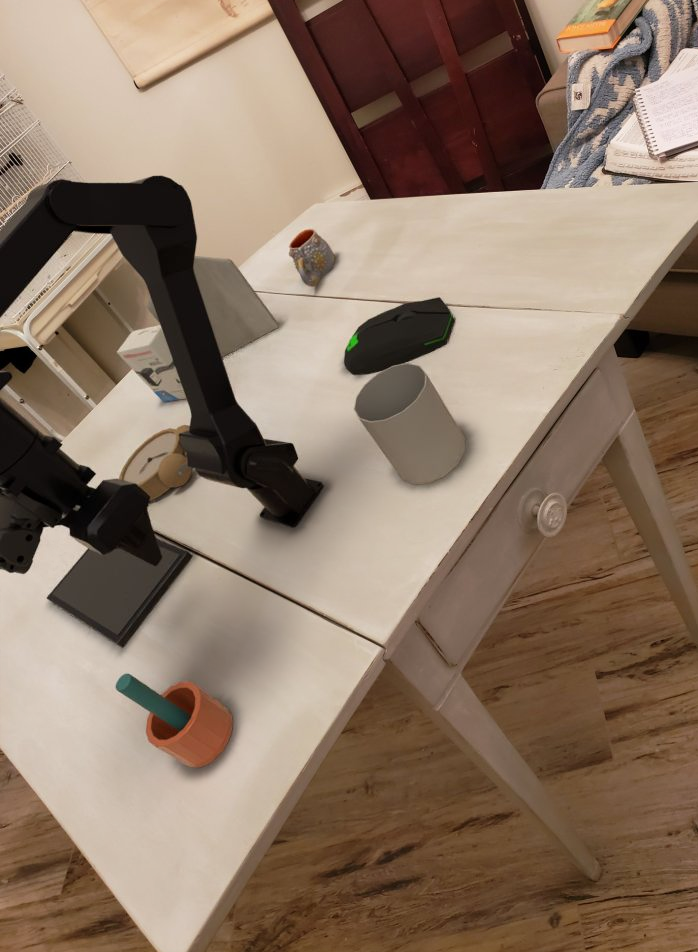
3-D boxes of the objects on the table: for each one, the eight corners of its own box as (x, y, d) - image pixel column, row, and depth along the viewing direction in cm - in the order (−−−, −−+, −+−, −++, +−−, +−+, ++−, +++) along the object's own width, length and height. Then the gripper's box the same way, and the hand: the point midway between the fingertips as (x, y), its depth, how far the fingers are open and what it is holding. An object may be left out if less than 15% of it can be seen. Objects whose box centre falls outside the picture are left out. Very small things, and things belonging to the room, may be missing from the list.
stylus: (212, 730, 68) (133, 676, 61) (201, 745, 67) (121, 693, 60) (202, 723, 69) (124, 670, 62) (192, 738, 68) (112, 687, 62)
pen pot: (244, 718, 68) (211, 694, 65) (204, 778, 65) (169, 757, 62) (208, 695, 72) (176, 672, 69) (169, 751, 69) (135, 730, 66)
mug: (307, 265, 130) (287, 235, 126) (340, 251, 128) (320, 220, 124) (295, 304, 122) (274, 272, 118) (330, 289, 119) (309, 257, 115)
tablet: (193, 555, 88) (187, 550, 88) (122, 647, 83) (116, 643, 82) (115, 524, 102) (110, 520, 101) (51, 601, 97) (45, 597, 96)
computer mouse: (349, 337, 106) (335, 317, 103) (452, 294, 100) (440, 271, 98) (344, 386, 98) (329, 365, 95) (456, 342, 92) (443, 318, 90)
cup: (444, 488, 75) (402, 424, 69) (385, 480, 81) (340, 420, 75) (477, 428, 79) (439, 362, 73) (418, 424, 84) (378, 363, 78)
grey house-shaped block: (280, 303, 125) (212, 208, 113) (279, 326, 119) (208, 229, 107) (203, 345, 129) (130, 257, 117) (198, 369, 123) (121, 280, 111)
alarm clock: (135, 441, 110) (199, 405, 102) (160, 460, 112) (224, 427, 104) (105, 498, 102) (171, 464, 94) (133, 517, 105) (199, 486, 97)
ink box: (162, 403, 121) (114, 352, 114) (176, 382, 124) (130, 331, 117) (196, 398, 116) (148, 344, 109) (210, 376, 119) (164, 323, 112)
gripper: (-93, 509, 65) (39, 598, 74) (-19, 551, 52) (129, 651, 62) (-4, 417, 69) (109, 511, 79) (84, 434, 57) (206, 545, 66)
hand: (134, 552), depth 71 cm, fingers open, 9 cm apart
